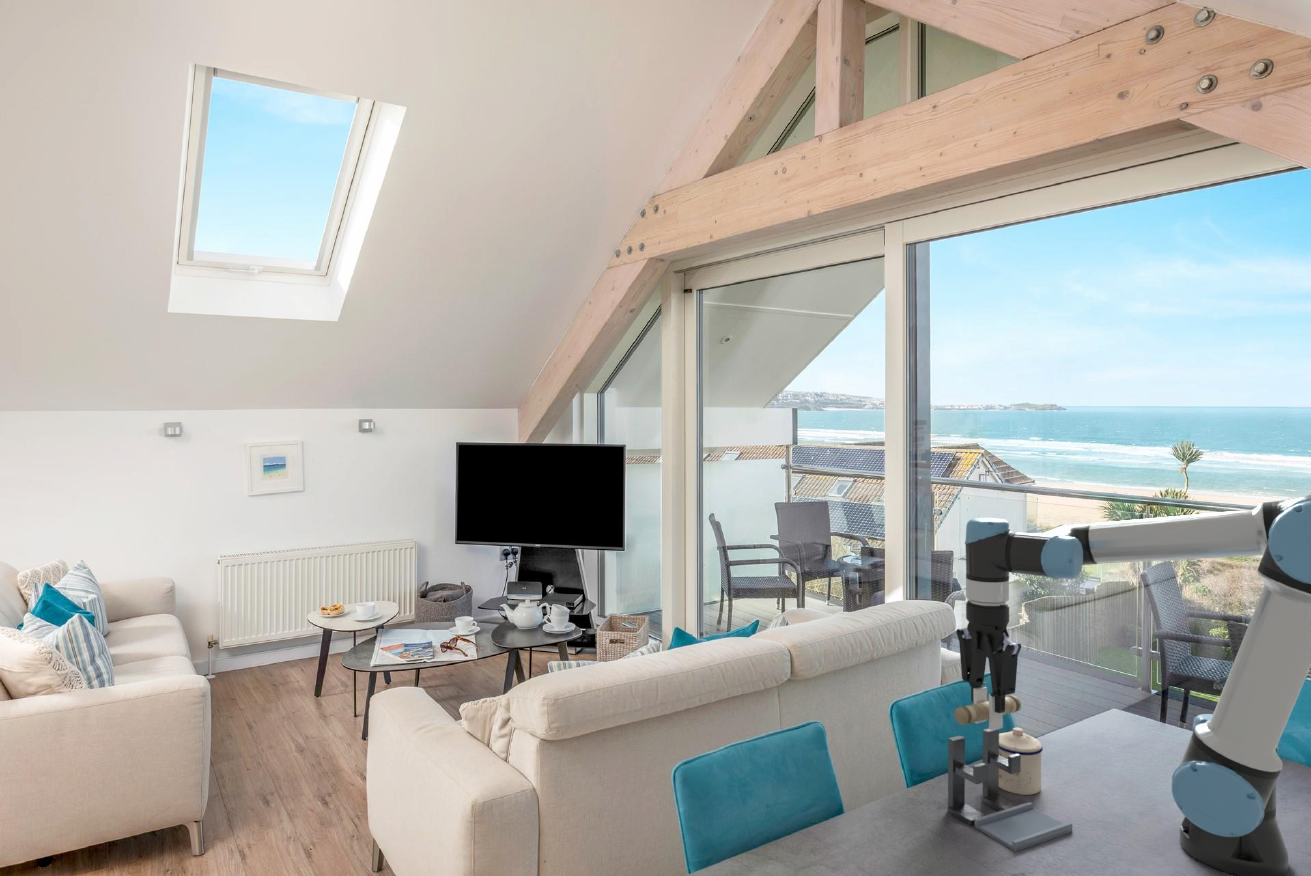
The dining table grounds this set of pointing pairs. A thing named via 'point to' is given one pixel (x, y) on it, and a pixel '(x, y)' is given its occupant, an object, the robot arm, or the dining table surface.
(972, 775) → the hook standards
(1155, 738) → the dining table surface
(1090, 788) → the dining table surface
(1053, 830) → the tray
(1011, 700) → the wooden cylinder
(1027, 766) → the teacup with lid
